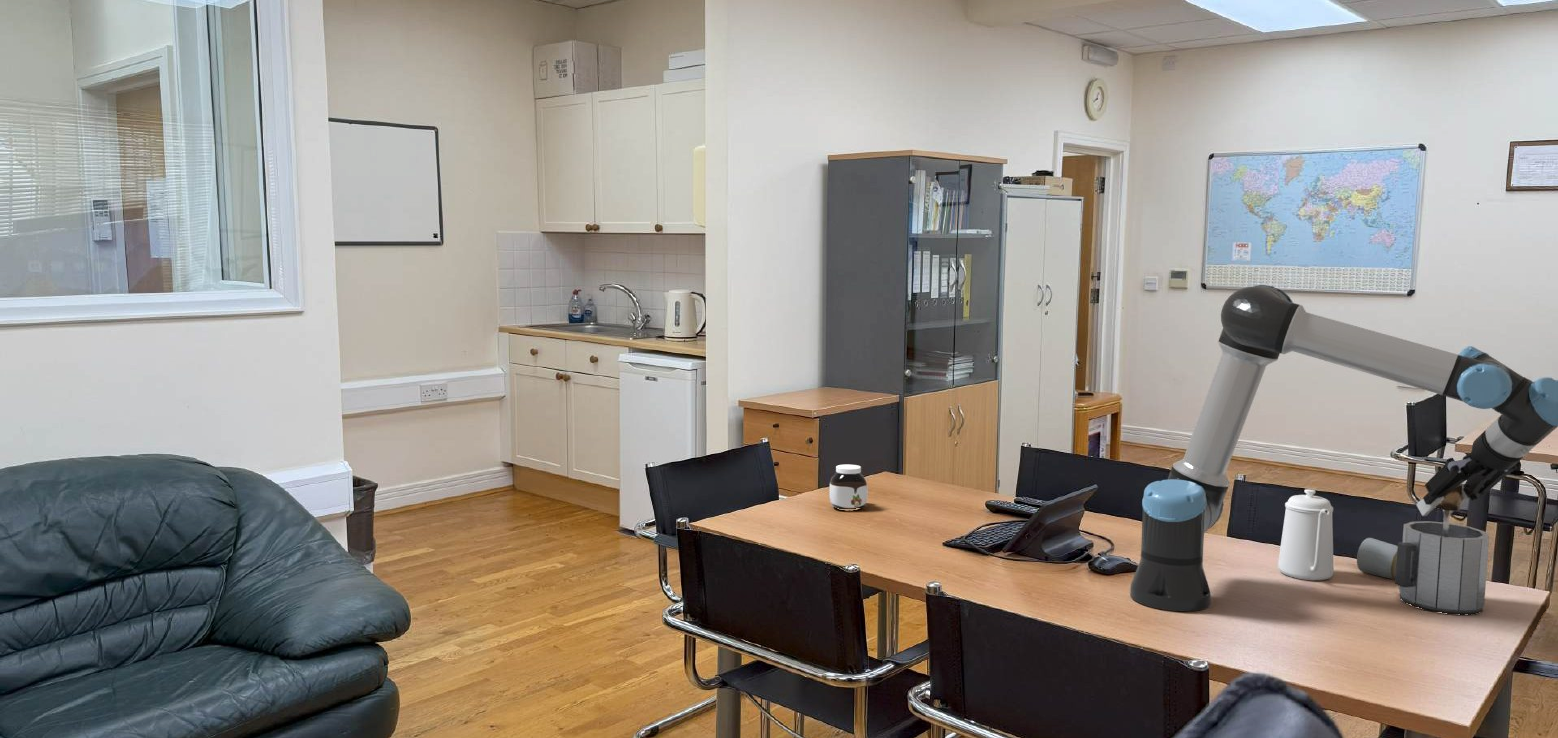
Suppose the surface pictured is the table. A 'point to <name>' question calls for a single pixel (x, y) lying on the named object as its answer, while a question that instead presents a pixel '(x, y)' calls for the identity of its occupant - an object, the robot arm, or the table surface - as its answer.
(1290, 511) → the coffeepot
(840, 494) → the spread jar
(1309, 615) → the table surface
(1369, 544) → the ceramic mug
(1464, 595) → the grey panelled tankard
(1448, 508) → the plunger
